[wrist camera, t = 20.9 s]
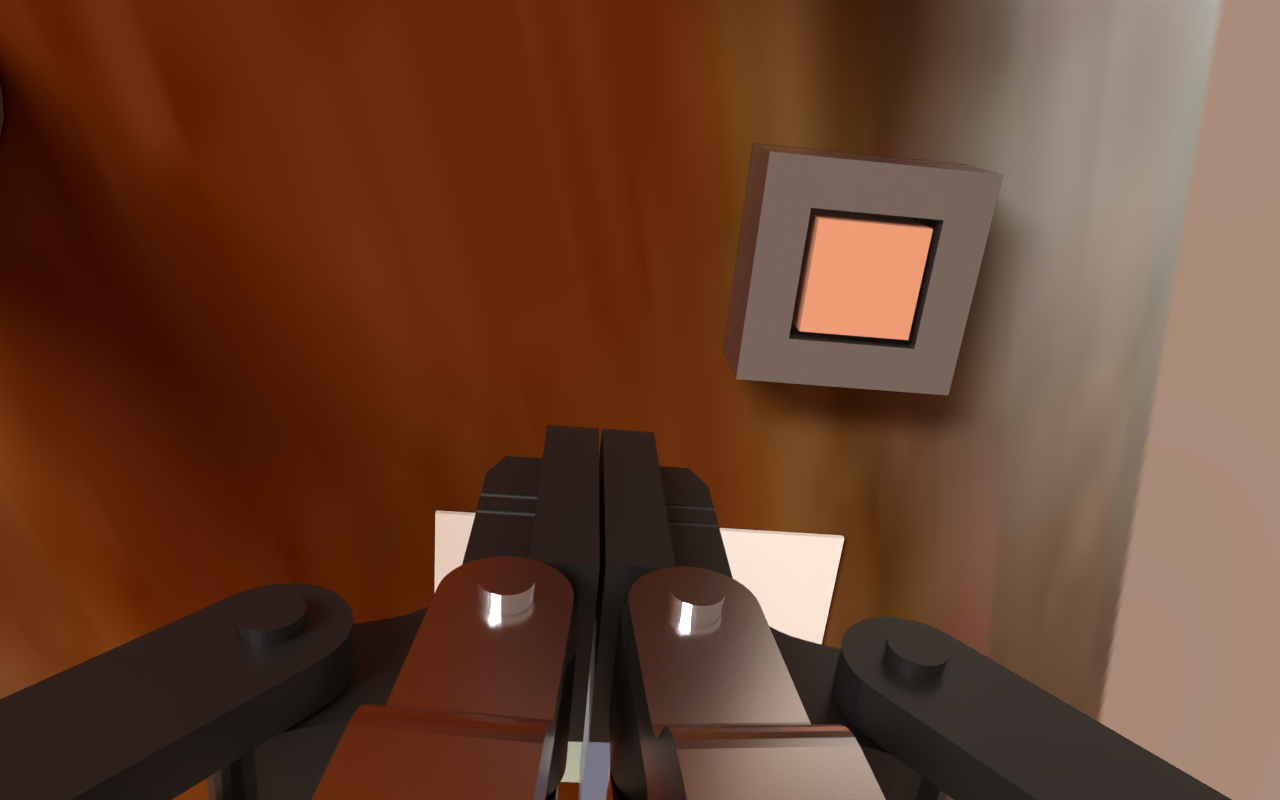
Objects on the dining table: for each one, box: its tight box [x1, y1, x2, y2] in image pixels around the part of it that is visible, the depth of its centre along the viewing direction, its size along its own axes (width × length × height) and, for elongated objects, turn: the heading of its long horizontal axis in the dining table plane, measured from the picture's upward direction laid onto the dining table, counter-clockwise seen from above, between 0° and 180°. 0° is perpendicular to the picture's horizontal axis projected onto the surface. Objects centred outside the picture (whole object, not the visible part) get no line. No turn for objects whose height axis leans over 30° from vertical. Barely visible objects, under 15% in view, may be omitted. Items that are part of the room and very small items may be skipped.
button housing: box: [724, 143, 1003, 395], centre depth 39 cm, size 10×10×4 cm
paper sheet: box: [435, 510, 844, 782], centre depth 48 cm, size 22×18×1 cm
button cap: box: [792, 208, 933, 340], centre depth 38 cm, size 5×5×3 cm
